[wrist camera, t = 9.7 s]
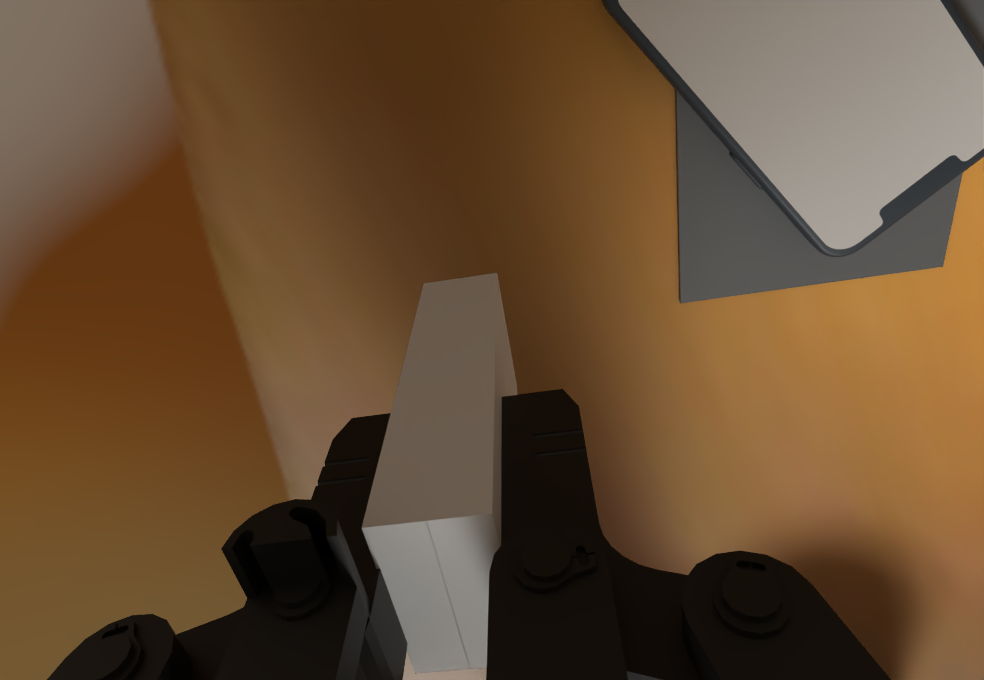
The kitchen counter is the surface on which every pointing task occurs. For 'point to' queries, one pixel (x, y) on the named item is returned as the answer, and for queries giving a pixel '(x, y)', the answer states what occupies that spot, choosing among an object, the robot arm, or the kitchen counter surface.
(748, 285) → the charging mat
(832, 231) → the phone case
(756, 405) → the kitchen counter surface
